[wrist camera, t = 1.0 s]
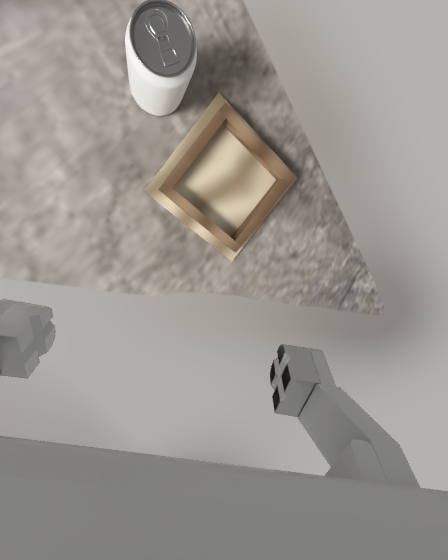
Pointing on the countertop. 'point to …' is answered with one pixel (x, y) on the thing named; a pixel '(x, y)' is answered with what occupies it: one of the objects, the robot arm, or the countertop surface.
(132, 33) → the can
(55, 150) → the countertop surface
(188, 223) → the wooden serving tray
